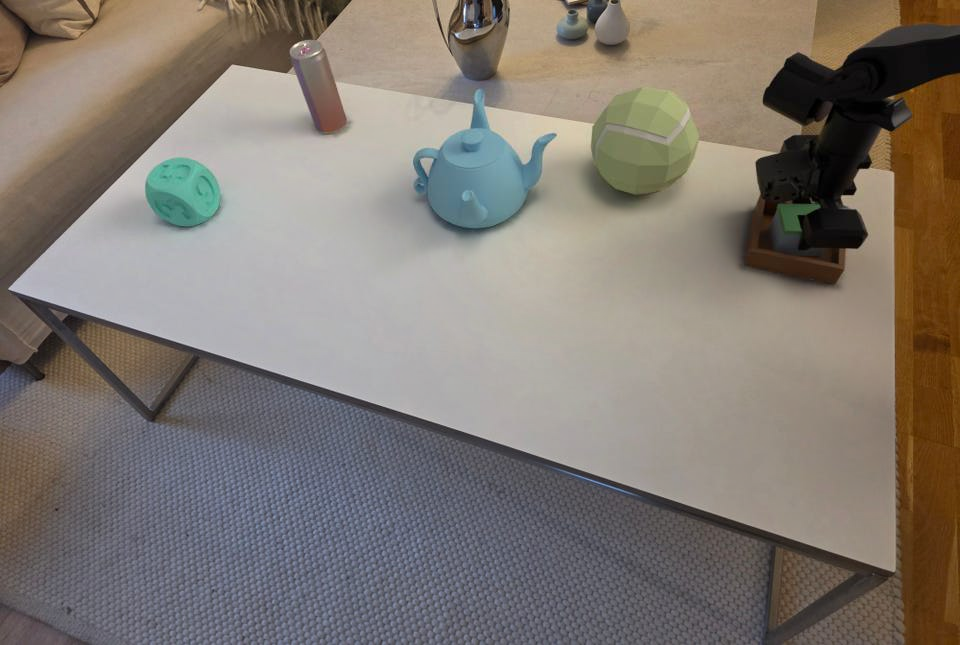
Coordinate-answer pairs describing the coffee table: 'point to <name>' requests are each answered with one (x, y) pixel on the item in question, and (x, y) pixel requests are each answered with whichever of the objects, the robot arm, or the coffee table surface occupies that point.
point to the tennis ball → (644, 140)
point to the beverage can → (318, 86)
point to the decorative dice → (182, 191)
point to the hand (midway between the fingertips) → (797, 235)
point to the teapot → (478, 174)
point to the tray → (807, 267)
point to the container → (790, 229)
